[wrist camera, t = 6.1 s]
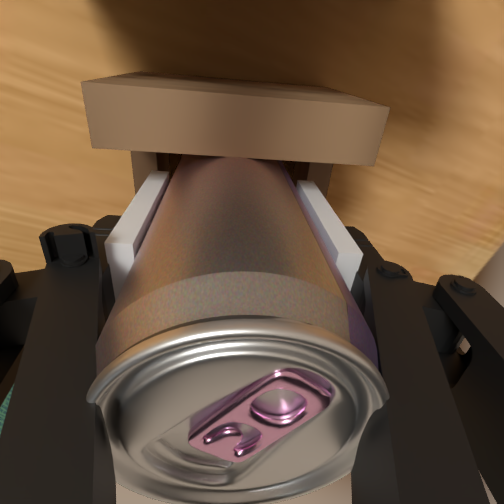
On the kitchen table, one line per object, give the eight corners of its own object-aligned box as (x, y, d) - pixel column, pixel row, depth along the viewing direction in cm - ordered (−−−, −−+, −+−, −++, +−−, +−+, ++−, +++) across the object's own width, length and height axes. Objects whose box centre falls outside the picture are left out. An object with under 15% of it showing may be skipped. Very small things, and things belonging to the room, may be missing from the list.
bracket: (154, 225, 21) (119, 305, 14) (140, 71, 17) (80, 81, 10) (301, 232, 22) (333, 309, 15) (327, 87, 18) (390, 107, 11)
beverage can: (303, 173, 19) (465, 422, 6) (235, 240, 21) (250, 533, 8) (224, 97, 16) (217, 240, 4) (158, 182, 18) (3, 463, 6)
